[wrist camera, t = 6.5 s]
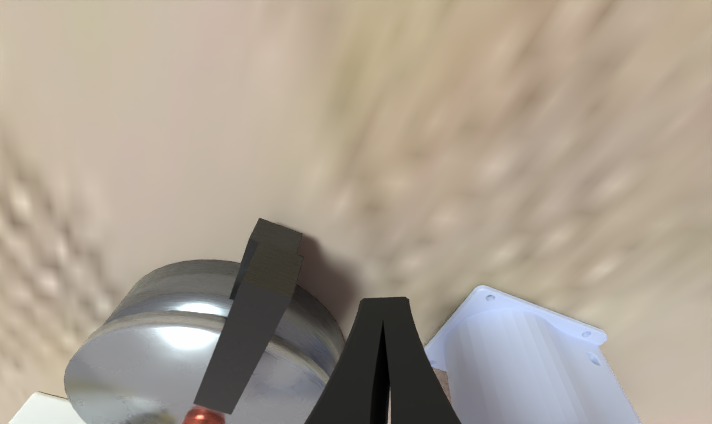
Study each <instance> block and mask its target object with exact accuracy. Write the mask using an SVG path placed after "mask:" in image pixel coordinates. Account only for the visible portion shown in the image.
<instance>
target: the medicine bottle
mask: <svg viewBox="0 0 712 424" xmlns="http://www.w3.org/2000/svg"><path fill="white" fill-rule="evenodd" d="M8 424H86V423H85V422H84V421H83V420H82V419H81V418H80V416H79V415H78V414H77V413H76V411H75V410H74V409H73V407H72V405H71V403H70V402H69V400H68V399H64V398H60V397H56V396H53V395H49V394H45V393H41V392H35V393H33V394H32V395H31V397H30V398H29V399H28V400H27V401H26V403H25V404H24V405H23V406H22V407H21V409H20V410H19V411H18V412H17V413H16V415H15V416H14V417H13V418H12V419H11V421H10V422H9V423H8Z"/></svg>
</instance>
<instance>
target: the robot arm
mask: <svg viewBox="0 0 712 424" xmlns="http://www.w3.org/2000/svg"><path fill="white" fill-rule="evenodd" d="M488 295H492V296H489V297H488ZM607 338H608V337H607V335H606V333H605V331H603V330H601V329H599V328H596V327H593V326H591V325H588V324H586V323H583V322H580V321H578V320H575V319H572V318H570V317H567V316H565V315H562V314H559V313H557V312H554V311H551V310H549V309H546V308H543V307H541V306H538V305H536V304H533V303H530V302H528V301H525V300H522V299H520V298H517V297H515V296H512V295H509V294H507V293H504V292H501V291H499V290H496V289H494V288H491V287H488V286H485V285H480V286H477V287H476V288H475V289H474V290H473V291H472V292H471V293H470V295H469V296H468V297H467V298H466V299H465V301H464V302H463V303H462V304H461V305H460V306H459V308H458V309H457V310H456V311H455V312H454V314H453V315H452V316H451V317H450V318H449V319H448V321H447V322H446V323H445V324H444V325H443V326H442V328H441V329H440V330H439V331H438V332H437V334H436V335H435V336H434V337H433V338H432V339H431V341H430V342H429V343H428V344H427V345H426V347H425V348H423V346H422V343H421V341H420V338H419V335H418V332H417V330H416V327H415V324H414V320H413V317H412V313H411V309H410V304H409V299H407V298H406V297H387V298H364V299H362V300H361V301H360V304H359V308H358V312H357V315H356V318H355V321H354V324H353V327H352V329H351V332H350V334H349V337H348V340H347V342H346V344H345V346H344V349H343V351H342V353H341V356H340V358H339V360H338V362H337V364H336V366H335V368H334V370H333V372H332V374H331V376H330V378H329V380H328V382H327V384H326V386H325V388H324V390H323V392H322V394H321V396H320V397H319V399H318V401H317V403H316V405H315V406H314V408H313V410H312V411H311V413H310V415H309V416H308V418H307V420H306V421H305V423H304V424H387V423H388V408H389V392H390V390H391V424H642V423H641V421H640V419H639V417H638V416H637V414H636V412H635V410H634V408H633V407H632V405H631V403H630V401H629V400H628V398H627V396H626V394H625V393H624V391H623V389H622V387H621V385H620V384H619V382H618V380H617V378H616V377H615V375H614V373H613V371H612V370H611V368H610V366H609V364H608V362H607V361H606V359H605V357H604V355H603V354H602V352H601V350H600V348H599V346H600V345H601V344H602V343H604V342H605V341H606V340H607ZM432 367H433V368H436V369H439V370H442V371H445V372H447V377H448V384H449V390H450V397H451V403H452V406H451V404H450V402H449V400H448V399H447V397H446V395H445V393H444V391H443V389H442V387H441V385H440V383H439V381H438V379H437V377H436V375H435V373H434V371H433V369H432Z"/></svg>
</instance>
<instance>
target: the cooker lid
mask: <svg viewBox="0 0 712 424" xmlns="http://www.w3.org/2000/svg"><path fill="white" fill-rule="evenodd" d="M302 261H303V257H302V256H300V255H297V254H294V253H292V252H289V251H287V250H284V249H282V248H279V247H276V246H274V245H271V244H269V243H266V242H263V241H261V240H260V242H259V244H258V246H257V248H256V250H255V253H254V255H253V257H252V259H251V261H250V264H249V266H248V268H247V270H246V272H245V274H244V277H243V279H242V281H241V284H240V286H239V289H238V291H237V294H236V296H235V299H234V301H233V304H232V306H231V309H230V311H229V314H228V316H227V318H224V317H219V316H214V315H210V314H203V313H195V312H187V311H155V312H144V313H139V314H133V315H128V316H125V317H122V318H119V319H116V320H113V321H111V322H109V323H107V324H105V325H103V326H101V327H100V328H99V329H97V330H96V331H95V332H93V333H92V334H91V335H90V337H89V338H88V339H87V340H86V341H85V342H84V344H83V345H82V346H81V347H80V349H79V350H78V351H77V352H76V354H75V355H74V356H73V357H72V359H71V360H70V361H69V363H68V366H67V368H66V370H65V376H64V386H65V391H66V394H67V397H68V400H69V402H70V403H71V405H72V407H73V409H74V410H75V411H76V413H77V414H78V415H79V416H80V418H81V419H82V420H83V421H84V422H85V423H86V424H304V423H305V421H306V420H307V418H308V416H309V415H310V413H311V411H312V410H313V408H314V406H315V405H316V403H317V401H318V399H319V397H320V396H321V394H322V392H323V390H324V388H325V386H326V384H327V382H328V380H329V377H328V375H327V374H326V373H325V371H324V370H323V369H322V368H321V367H320V366H319V365H318V364H317V363H316V362H315V361H313V360H312V359H311V358H310V357H308V356H307V355H306V354H304V353H303V352H302V351H301V350H299V349H297V348H296V347H294V346H293V345H291V344H289V343H288V342H286V341H285V340H283V339H281V338H279V337H276V336H274V335H273V334H274V332H275V330H276V328H277V326H278V324H279V322H280V320H281V318H282V316H283V315H284V313H285V311H286V309H287V307H288V305H289V303H290V301H291V299H292V296H293V292H294V289H295V285H296V282H297V278H298V275H299V271H300V268H301V264H302Z"/></svg>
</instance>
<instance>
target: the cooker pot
mask: <svg viewBox="0 0 712 424" xmlns="http://www.w3.org/2000/svg"><path fill="white" fill-rule="evenodd" d="M301 238H302V233H299V232H296V231H293V230H291V229H288V228H285V227H283V226H280V225H277V224H275V223H272V222H269V221H267V220H264V219H261V218H259V220H258V222H257V224H256V226H255V228H254V230H253V232H252V234H251V236H250V238H249V241H248V244H247V247H246V250H245V253H244V256H243V259H242V262H241V263H236V262H231V261H222V260H191V261H182V262H178V263H174V264H169V265H166V266H164V267H161V268H159V269H156V270H154V271H152V272H151V273H149V274H147V275H145V276H144V277H143V278H142V279H141V280H139V281H138V282H137V283H136V284H135V285H134V287H133V288H132V289H131V290H130V292H129V293H128V294H127V296H126V297H125V298H124V299H123V301H122V302H121V303H120V304H119V306H118V307H117V308H116V309H115V311H114V312H113V313H112V315H111V316H110V317H109V318H108V320H107V321H106V322H105V323H104V325H105V324H107V323H109V322H111V321H113V320H116V319H119V318H122V317H125V316H128V315H133V314H139V313H144V312H155V311H187V312H195V313H203V314H210V315H214V316H219V317H224V318H227V316H228V314H229V311H230V309H231V306H232V304H233V301H234V299H235V296H236V294H237V291H238V289H239V286H240V284H241V281H242V279H243V277H244V274H245V272H246V270H247V268H248V266H249V264H250V261H251V259H252V257H253V255H254V253H255V250H256V248H257V246H258V244H259V242H260V240H261V241H263V242H266V243H269V244H271V245H274V246H276V247H279V248H282V249H284V250H287V251H289V252H292V253H294V254H297V251H298V247H299V244H300V241H301ZM273 335H274V336H276V337H279V338H281V339H283V340H285V341H286V342H288V343H289V344H291V345H293V346H294V347H296V348H297V349H299V350H301V351H302V352H303V353H304V354H306V355H307V356H308V357H310V358H311V359H312V360H313V361H315V362H316V363H317V364H318V365H319V366H320V367H321V368H322V369H323V370H324V371H325V373H326V374H327V375H328V377H329V378H330V376H331V374H332V372H333V370H334V368H335V366H336V364H337V362H338V360H339V358H340V356H341V353H342V351H343V349H344V346H345V344H344V339H343V336H342V333H341V330H340V329H339V327H338V325H337V323H336V321H335V320H334V318H333V317H332V315H331V314H330V313H329V311H328V310H327V309H326V308H325V307H324V306H323V305H322V304H321V303H320V302H319V301H318V300H317V299H316V298H314V297H313V296H312V295H311V294H310V293H308V292H307V291H305V290H304V289H302V288H301V287H299V286H298V285H295V289H294V292H293V296H292V299H291V301H290V303H289V305H288V307H287V309H286V311H285V313H284V315H283V316H282V318H281V320H280V322H279V324H278V326H277V328H276V330H275V332H274V334H273Z"/></svg>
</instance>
